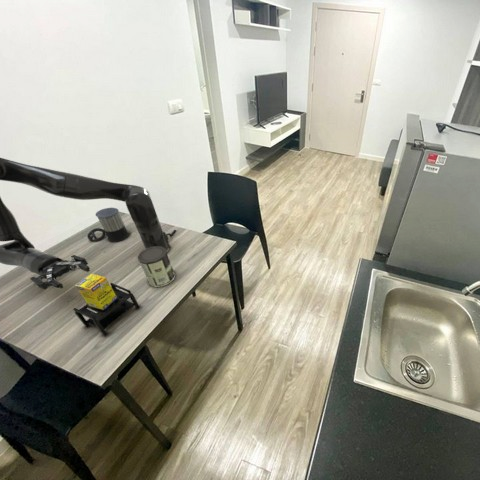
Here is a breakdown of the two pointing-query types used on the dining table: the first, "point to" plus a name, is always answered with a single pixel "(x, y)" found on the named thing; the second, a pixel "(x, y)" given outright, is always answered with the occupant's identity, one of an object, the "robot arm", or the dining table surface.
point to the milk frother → (110, 226)
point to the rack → (107, 310)
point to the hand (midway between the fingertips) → (75, 277)
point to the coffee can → (156, 266)
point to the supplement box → (97, 292)
